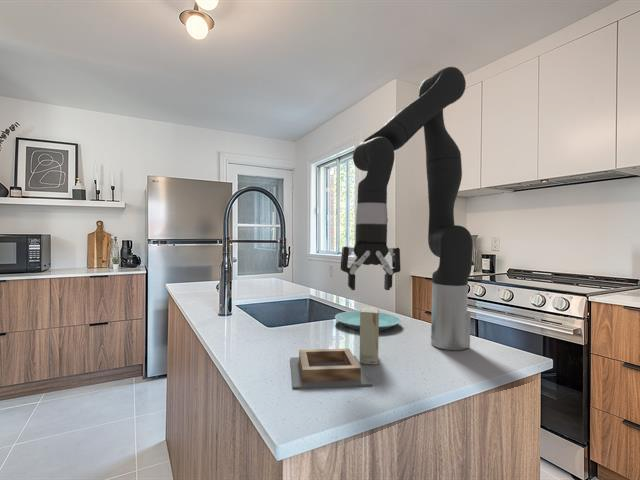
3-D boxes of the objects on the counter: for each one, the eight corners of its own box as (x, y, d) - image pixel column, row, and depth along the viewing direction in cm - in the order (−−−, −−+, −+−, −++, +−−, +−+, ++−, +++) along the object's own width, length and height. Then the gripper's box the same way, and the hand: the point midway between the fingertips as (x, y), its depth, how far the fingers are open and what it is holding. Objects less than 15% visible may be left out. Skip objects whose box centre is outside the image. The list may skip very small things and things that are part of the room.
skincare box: (377, 365, 78) (378, 313, 78) (359, 364, 79) (359, 312, 79) (378, 356, 84) (379, 307, 84) (361, 354, 85) (361, 306, 85)
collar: (348, 358, 81) (349, 348, 81) (360, 380, 69) (360, 367, 69) (299, 360, 80) (299, 349, 80) (302, 382, 68) (302, 369, 68)
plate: (363, 314, 130) (363, 307, 130) (414, 326, 114) (414, 318, 114) (321, 324, 115) (321, 316, 115) (372, 339, 99) (372, 330, 99)
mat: (355, 357, 83) (355, 355, 83) (372, 385, 68) (372, 383, 68) (290, 359, 82) (290, 357, 82) (292, 389, 66) (292, 387, 66)
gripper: (394, 224, 86) (393, 287, 86) (339, 222, 84) (338, 287, 85) (405, 223, 79) (403, 292, 79) (345, 221, 77) (343, 292, 77)
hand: (369, 289), depth 82 cm, fingers open, 8 cm apart
